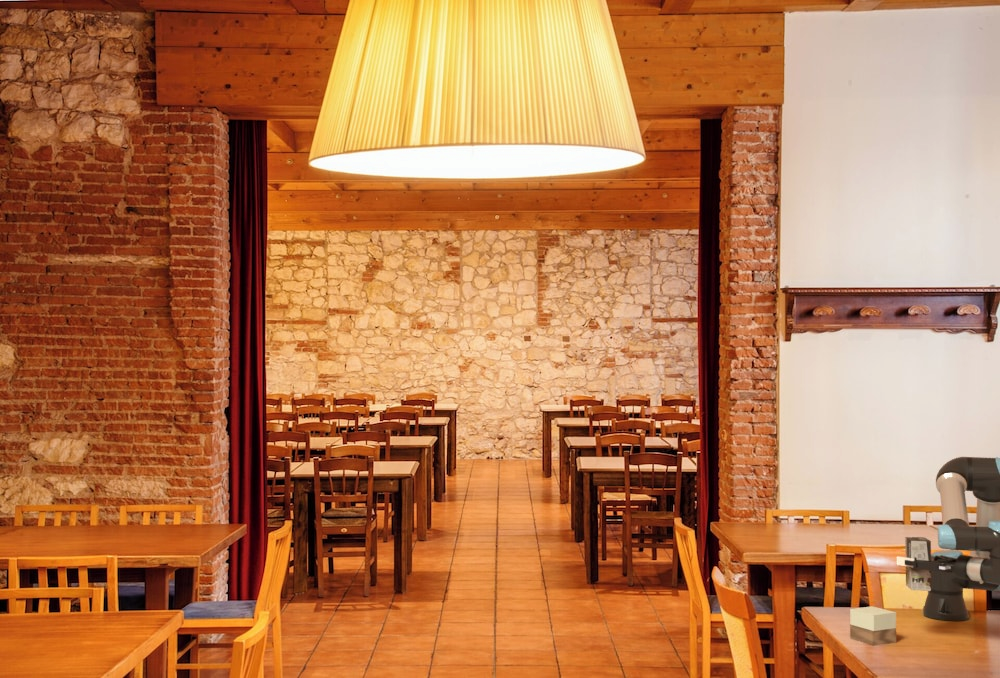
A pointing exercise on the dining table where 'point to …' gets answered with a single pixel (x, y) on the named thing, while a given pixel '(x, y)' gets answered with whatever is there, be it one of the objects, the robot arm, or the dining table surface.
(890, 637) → the tower base
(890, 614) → the tower top
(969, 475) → the robot arm
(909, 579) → the coffee box
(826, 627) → the dining table surface
